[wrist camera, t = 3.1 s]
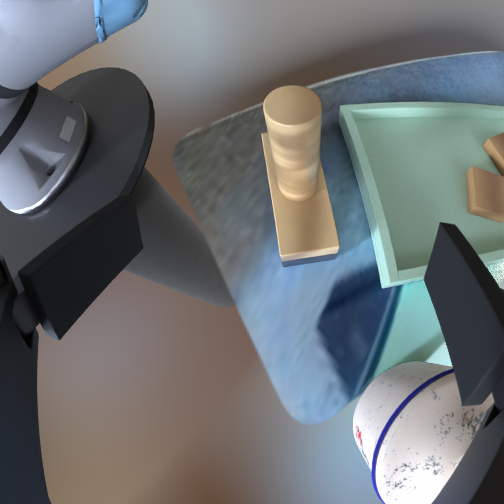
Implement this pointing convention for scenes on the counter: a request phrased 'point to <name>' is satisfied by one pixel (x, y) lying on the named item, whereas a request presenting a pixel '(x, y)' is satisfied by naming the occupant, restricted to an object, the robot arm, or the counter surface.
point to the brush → (298, 176)
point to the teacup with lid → (414, 430)
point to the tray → (420, 178)
